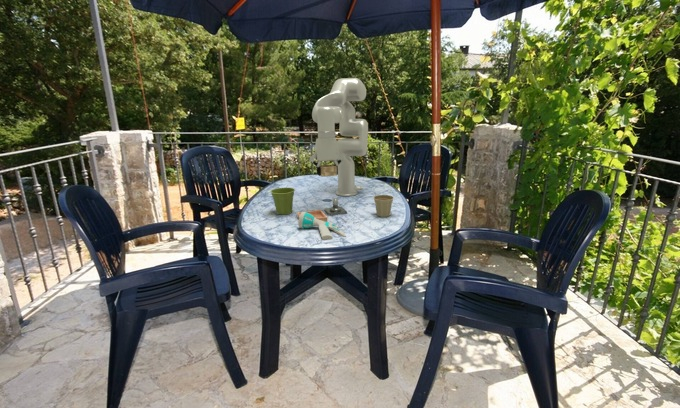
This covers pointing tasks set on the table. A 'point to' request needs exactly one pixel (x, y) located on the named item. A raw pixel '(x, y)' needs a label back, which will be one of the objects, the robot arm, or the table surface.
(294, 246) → the table surface
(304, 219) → the garden hose nozzle
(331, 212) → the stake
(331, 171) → the wooden ring
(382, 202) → the flower pot
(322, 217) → the terracotta tray
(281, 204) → the plant pot
